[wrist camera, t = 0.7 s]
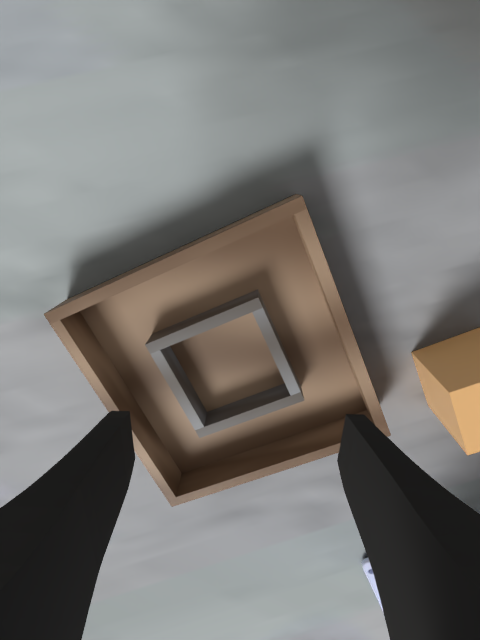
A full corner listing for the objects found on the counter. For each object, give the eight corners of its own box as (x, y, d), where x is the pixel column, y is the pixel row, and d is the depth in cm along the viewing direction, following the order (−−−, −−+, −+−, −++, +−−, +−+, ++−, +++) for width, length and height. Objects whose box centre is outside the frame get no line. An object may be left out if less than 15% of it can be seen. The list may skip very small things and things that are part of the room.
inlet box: (376, 409, 23) (391, 435, 21) (179, 476, 25) (171, 506, 23) (295, 194, 19) (302, 195, 16) (66, 299, 21) (43, 314, 19)
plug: (493, 383, 22) (550, 430, 18) (427, 405, 23) (467, 455, 19) (480, 326, 21) (537, 363, 17) (410, 351, 22) (449, 392, 17)
